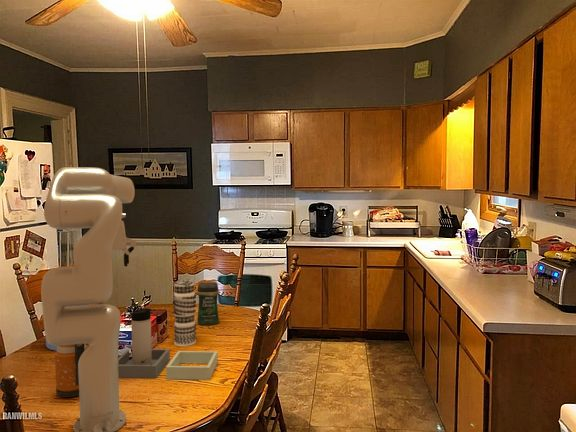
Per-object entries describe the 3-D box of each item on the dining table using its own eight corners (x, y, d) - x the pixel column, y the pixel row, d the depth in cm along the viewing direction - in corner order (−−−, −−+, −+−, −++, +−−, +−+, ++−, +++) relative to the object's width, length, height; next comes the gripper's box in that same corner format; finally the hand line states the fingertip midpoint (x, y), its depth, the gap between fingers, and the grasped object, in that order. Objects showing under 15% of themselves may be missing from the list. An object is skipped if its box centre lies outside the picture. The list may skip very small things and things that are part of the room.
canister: (80, 382, 140) (78, 320, 139) (98, 393, 133) (96, 327, 132) (51, 392, 133) (48, 327, 132) (67, 404, 126) (65, 335, 125)
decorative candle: (200, 338, 180) (199, 278, 179) (192, 346, 171) (191, 283, 170) (178, 338, 181) (177, 277, 180) (170, 346, 172) (168, 282, 170)
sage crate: (209, 379, 142) (209, 367, 142) (166, 379, 143) (166, 367, 142) (217, 362, 156) (217, 351, 156) (178, 362, 156) (178, 350, 156)
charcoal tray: (156, 378, 143) (155, 366, 143) (110, 377, 144) (110, 365, 143) (169, 360, 158) (169, 349, 158) (128, 359, 159) (128, 348, 158)
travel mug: (147, 371, 147) (145, 312, 146) (128, 369, 149) (127, 311, 147) (156, 363, 153) (154, 306, 152) (138, 362, 155) (137, 306, 153)
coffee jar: (197, 326, 197) (196, 284, 196) (197, 320, 205) (197, 281, 203) (219, 325, 198) (218, 284, 197) (219, 319, 206) (218, 280, 205)
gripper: (134, 215, 158) (135, 263, 159) (80, 217, 150) (82, 267, 151) (137, 217, 152) (139, 266, 153) (82, 219, 143) (83, 271, 145)
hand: (110, 267), depth 152 cm, fingers open, 9 cm apart
